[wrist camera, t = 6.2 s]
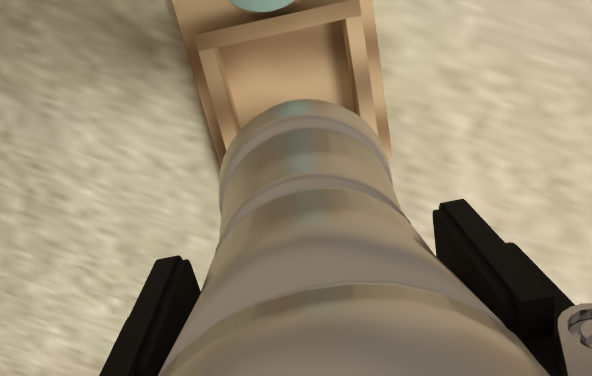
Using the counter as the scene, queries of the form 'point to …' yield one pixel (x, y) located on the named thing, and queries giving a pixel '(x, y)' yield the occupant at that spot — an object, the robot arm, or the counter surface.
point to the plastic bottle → (329, 267)
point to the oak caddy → (282, 61)
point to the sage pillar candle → (261, 4)
